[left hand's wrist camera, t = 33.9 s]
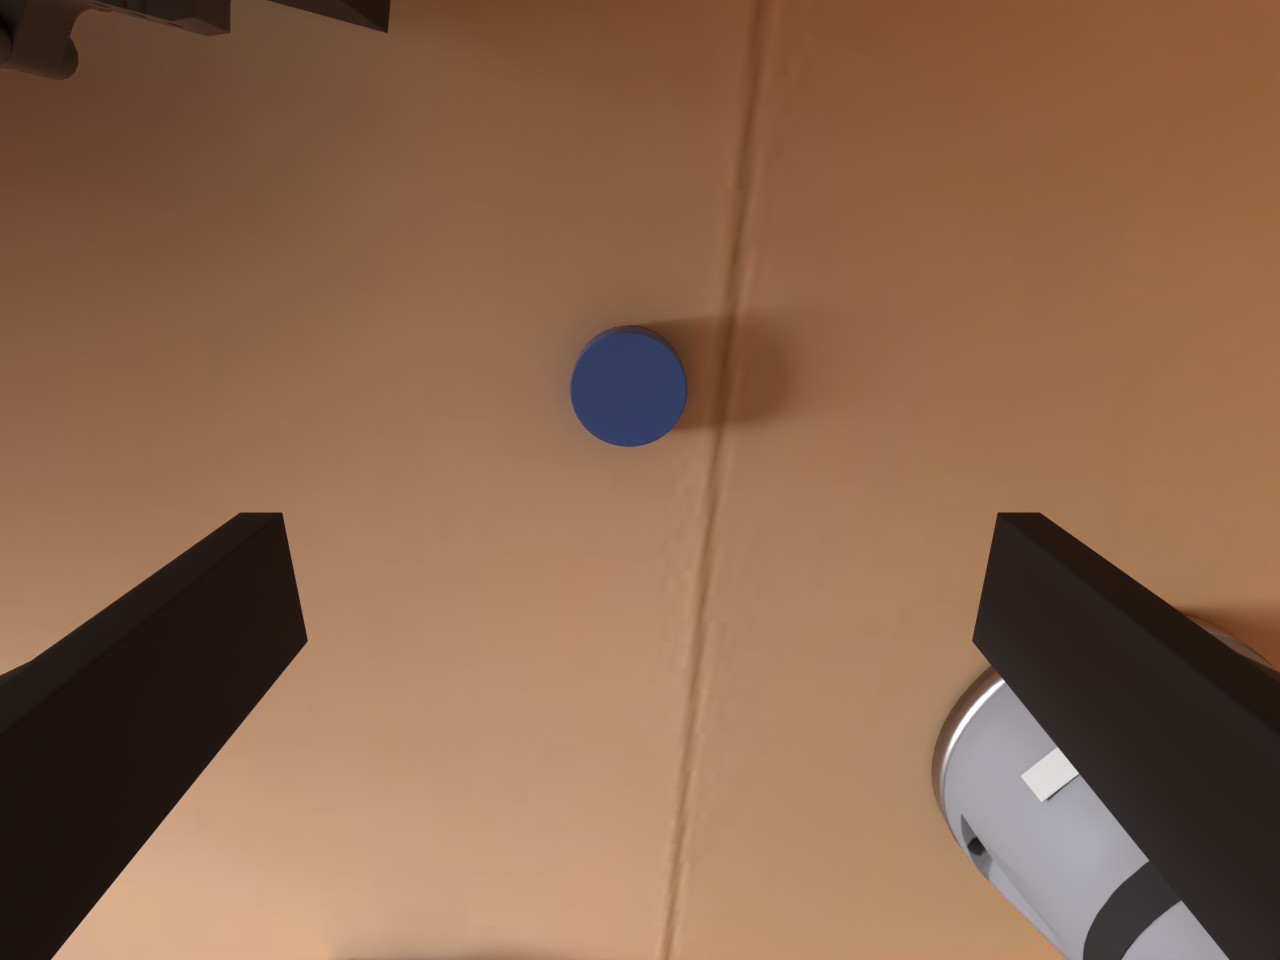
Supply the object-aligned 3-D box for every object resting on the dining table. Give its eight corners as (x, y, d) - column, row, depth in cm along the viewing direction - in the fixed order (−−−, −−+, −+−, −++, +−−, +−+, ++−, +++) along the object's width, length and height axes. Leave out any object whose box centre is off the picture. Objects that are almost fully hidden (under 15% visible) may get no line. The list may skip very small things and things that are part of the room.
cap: (674, 441, 26) (676, 454, 24) (567, 425, 26) (564, 438, 24) (693, 334, 24) (696, 342, 23) (580, 317, 24) (577, 324, 23)
